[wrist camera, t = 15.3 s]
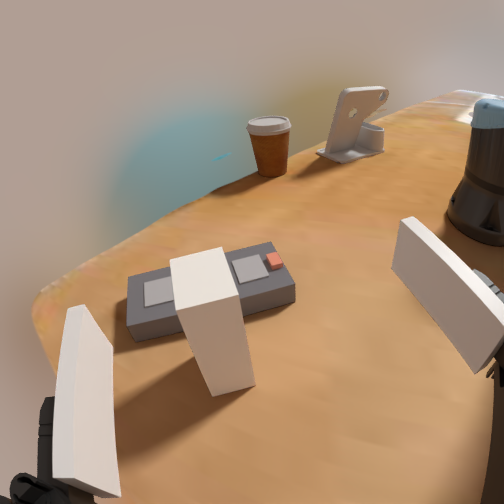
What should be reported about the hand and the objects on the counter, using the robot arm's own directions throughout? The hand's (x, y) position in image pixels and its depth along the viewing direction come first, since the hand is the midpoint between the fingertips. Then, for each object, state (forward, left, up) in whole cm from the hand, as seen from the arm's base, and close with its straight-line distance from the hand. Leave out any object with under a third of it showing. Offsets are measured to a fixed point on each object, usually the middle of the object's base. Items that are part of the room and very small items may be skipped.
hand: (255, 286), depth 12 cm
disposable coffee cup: (-18, -55, -20) cm, 61 cm away
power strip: (+2, -21, -20) cm, 29 cm away
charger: (+2, -10, -20) cm, 23 cm away
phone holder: (-41, -59, -20) cm, 75 cm away
